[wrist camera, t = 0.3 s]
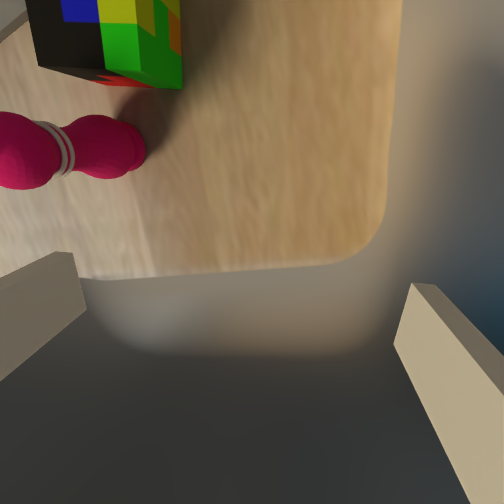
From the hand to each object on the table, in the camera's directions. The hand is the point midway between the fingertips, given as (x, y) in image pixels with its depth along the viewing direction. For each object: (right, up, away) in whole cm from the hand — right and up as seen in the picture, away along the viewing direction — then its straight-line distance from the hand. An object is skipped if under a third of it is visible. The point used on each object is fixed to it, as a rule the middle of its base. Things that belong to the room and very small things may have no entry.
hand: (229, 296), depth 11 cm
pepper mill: (-16, +16, +26) cm, 35 cm away
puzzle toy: (-12, +27, +21) cm, 36 cm away
